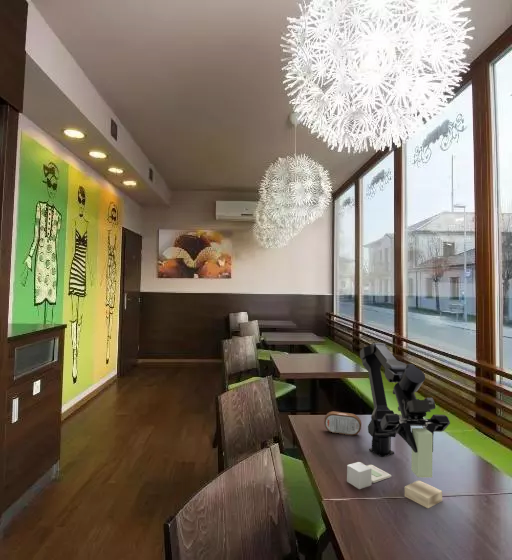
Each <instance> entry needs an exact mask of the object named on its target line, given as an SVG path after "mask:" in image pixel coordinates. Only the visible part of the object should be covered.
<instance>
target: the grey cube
mask: <svg viewBox="0 0 512 560" xmlns="http://www.w3.org/2000/svg"><path fill="white" fill-rule="evenodd" d="M346 467H347V469H346V482H347V483H348V484H350V485H352V486H353V487H355V488H356V489H358V490H361V489H364V488H368V487H371V486H372V482H371V468H370V467H368V465H365V464H364V463H363V462H361V461H357V462H353V463H350V464H347V465H346Z"/></svg>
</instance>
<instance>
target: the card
mask: <svg viewBox="0 0 512 560" xmlns="http://www.w3.org/2000/svg"><path fill="white" fill-rule="evenodd" d="M367 466H368V467H370V468H371V483H372V484H374V483H378V482H381V481H383V480H386V479H390V478H392V475H391V474H390V473H389V472H387V471H384V470H382V469H381V468H379V467H377V466H375V465H373V464H368V465H367Z"/></svg>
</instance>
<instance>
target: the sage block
mask: <svg viewBox="0 0 512 560" xmlns="http://www.w3.org/2000/svg"><path fill="white" fill-rule="evenodd" d="M411 432H412V435H413V438H414V440H415V443H416V446H417V451H418V452H417V453H415V452H414V451H413V450H412V449H411V467H410V468H411V470H410V471H411V472H412V473H413V474H414V476H416V477H417V478H422V479H423V478H431V479H432V478H433V452H432V444H433V445H434V434H432V433H431V432H430V431H428V430H427V429H426V428H423V427H417V428H416V427H411Z"/></svg>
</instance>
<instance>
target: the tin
mask: <svg viewBox="0 0 512 560" xmlns="http://www.w3.org/2000/svg"><path fill="white" fill-rule="evenodd" d="M323 422H324V423H323V424H324V426H325V429H326V430H327V431H328V432H330V433H331V432H332V434H336V433H339V434H340V435H344V434H345V435H344V436H356V435H358V434H359V433H360V432H361V430H362V420H361V419H360V417H359V416H358V415H356V414H354V413H349V412H341V411H329V412H327V413H326V415H325V416H324V419H323Z"/></svg>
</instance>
